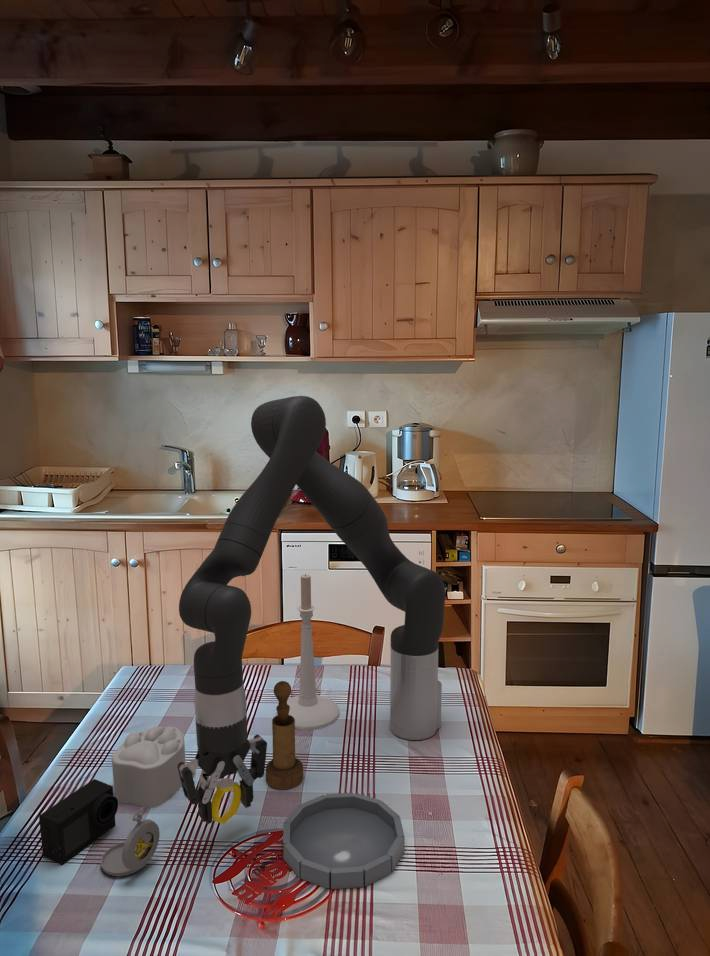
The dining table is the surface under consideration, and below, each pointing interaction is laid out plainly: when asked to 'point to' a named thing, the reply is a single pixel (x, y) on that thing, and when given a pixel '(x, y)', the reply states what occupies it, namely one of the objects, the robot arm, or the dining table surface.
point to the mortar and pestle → (283, 745)
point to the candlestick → (309, 675)
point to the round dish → (343, 840)
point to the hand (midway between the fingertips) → (226, 812)
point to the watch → (222, 787)
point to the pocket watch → (132, 848)
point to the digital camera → (77, 821)
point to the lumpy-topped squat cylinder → (148, 766)
